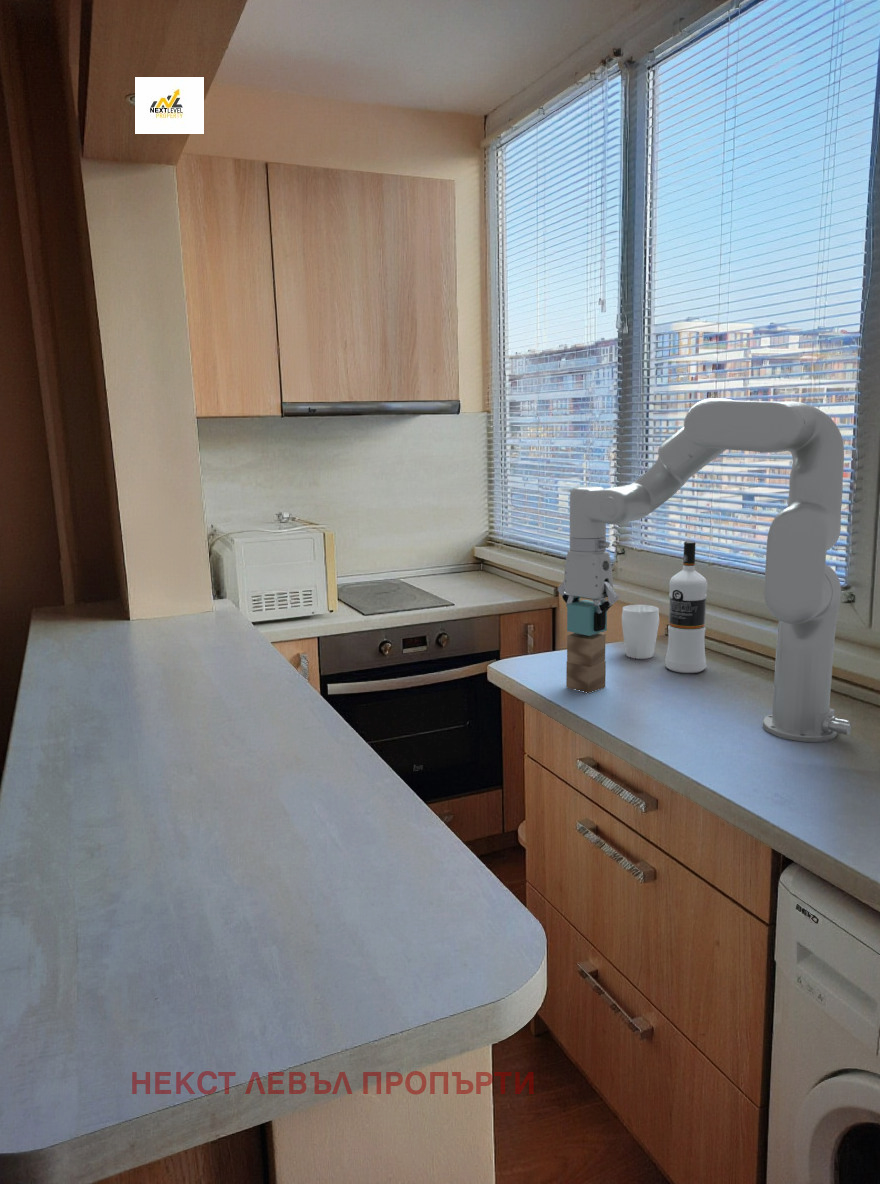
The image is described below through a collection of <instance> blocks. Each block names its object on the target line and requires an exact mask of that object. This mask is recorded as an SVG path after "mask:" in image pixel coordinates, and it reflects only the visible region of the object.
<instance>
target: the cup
mask: <svg viewBox="0 0 880 1184" xmlns="http://www.w3.org/2000/svg"><path fill="white" fill-rule="evenodd" d="M621 625H622V635H623V642H624V643H623V644H624V649H625V656H626V657H628V658H630V657H631V659H635V658H636V659H637V660H646V659H650V658H653V657H654V654H655V648H656V642H657V635H658V631H659V625H660V608H659V607H657V606H654V605H651V604H629V605H625V606H622V611H621ZM636 659H635V660H636Z"/></svg>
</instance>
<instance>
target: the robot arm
mask: <svg viewBox="0 0 880 1184" xmlns="http://www.w3.org/2000/svg"><path fill="white" fill-rule="evenodd" d="M727 450H729V451H741V452H743V451H745V452H758V453H767V454H768V453H771V454H772V453H781V452H789V453H790V454H791V456H792V464H791V470H790V474H789V483H788V484H789V485H788V487H789V489H788V501H787V507H786V508H784V509H782V510H781V511H780V512H779V513H778V514H777V515H776V516H775V517H774V518H773V520H772V522H771V524H770V526H769V528H768V533H767V537H766V538H767V540H766V550H765V551H766V553H765V569H764V572H765V573H764V587H763V588H764V590H763V591H764V593H763V595H764V601H765V605H766V607H767V609H768V611H769V612H770V614H771V615H772V616H773V617H774V618H775V619H776V620H778V626H777V635H776V647H775V660H774V661H775V664H774V679H773V680H774V682H773V698H772V699H773V700H772V713H770V714H769V715H766V716H765V717H764V718H763V721H762V726H763V727H762V728H763V729H764V730H765V731H766V732H768V733H769V734H771V735H773V736H776V737H779V738H782V739H785V740H788V741H790V740H791V741H796V742H805V743H806V742H807V743H819V742H826V741H830V740H832V739H834V738H836V736H837V734H841V735H846V736H849V735H850V734H851V732H852V725H851V724H850V720H847V719H842V718H841V719H840V718H837V716H836V715H835V714H836V713H835V708H831V707H830V704H831V691H832V690H831V689H832V679H833V677H832V675H833V665H834V664H833V661H834V652H835V640H836V639H835V637H836V629H837V628H836V627H837V623H838V616H839V609H840V604H841V598H842V597H841V595H842V588H841V581H840V579H839V577H838V574H837V573H836V572H835V570H834V569H833V568H832V567H831V566H830V565H827V563H826V561H827V551H829V550H831V549H832V548H833V547H834V546H835V545H836V544H837V542H838V540H839V538H840V535H841V530H842V529H841V524H842V522H841V520H842V503H843V486H844V484H843V481H844V465H845V446H844V441H843V437H842V433H841V431H840V429H839V427H838V426H837V424H836V422H835V421H834V420H833V419H832V417H830V416H829V415H828V414H826V413H825V412H824V411H822V410H821V409H819V408H818V407H815V406H813V405H810V404H807V403H805V402H801V401H764V400H763V401H761V400H757V401H756V400H733V399H728V398H711V397H710V398H706V399H703V400H702V399H701V400H700V401H698V402H696V403H695V404H693V406H691V407H690V409H689V410H688V412H687V413H686V415H685V419H684V421H683V425H682V427H681V428H680V429H678V430H677V431H676V432H675V433H673V434H672V435H671V436H670V437H668V438H667V439H666V440H665V441H664V442H662V443H661V444H660V445H659V447H658V450H657V452H658V458H657V460H656V461H655V462H654V464H653V465H652V466H651V467H650V468H649V469H648V470H647V471H645V472H644V473H643V474H642V475H641V476H640V477H639V478H637V479H636V480H635V481H634V482H632V483H630V484H626V485H619V486H614V487H607V488H604V487H602V486H596V485H586V486H585V485H584V486H576V487H573V488H571V490H570V492H569V493H570V494H569V550H567V553H566V559H565V564H564V573H563V582H561V584H560V585H559V586H558V587H557V591H558V593H559V594H560V596H561V597H562V599H563V602H565V607H566V608H567V604H570V603H574V602H578V601H581V599H584V600H590V601H593V602H594V606H595V609H596V612H597V613H594V631H596V632H597V631H601V630H604V629H605V625H606V612H607V613H608V612H609V609H610V608H611V607H612V606H613V605H614V604H615V603H616V602H617V601H618V600H619V595H618V594H617V592H616V591H615V589H614V582H613V568H612V567H613V566H612V561H611V556H610V552H608V551H607V550H606V549H608V548H610V542H609V541H607V540H606V539H607V537H606V536H607V535H606V534H607V533H606V532H607V530H606V529H607V524H608V525H615V526H616V525H622V524H626V523H629V522H633V521H638V520H640V519H641V520H642V519H643V518H645V517H647V516H648V515H650V514H651V513H652V512H654V511H655V510H657V509H658V508H659V507H660V506H662V505H663V504H665V503H666V502H667V501H669V500H670V499H671V498H672V497H673V496H674V495H675V494H676V493H677V492H679V490H680V489H681V488H682V487H683V486H684V485H685V484H686V483H687V482H688V480H689V479H690V478H692V477H693V476H694V475H696V474H697V473H698V472H699V471H700V470H702V469H703V468H704V467H706V466H707V465H709V464H710V463H711V462H712V461H714V460H715V459H716V458H717V457H719V456H721V454H723V453H724V452H725V451H727ZM606 598H607V599H606ZM600 603H601V605H600Z"/></svg>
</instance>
